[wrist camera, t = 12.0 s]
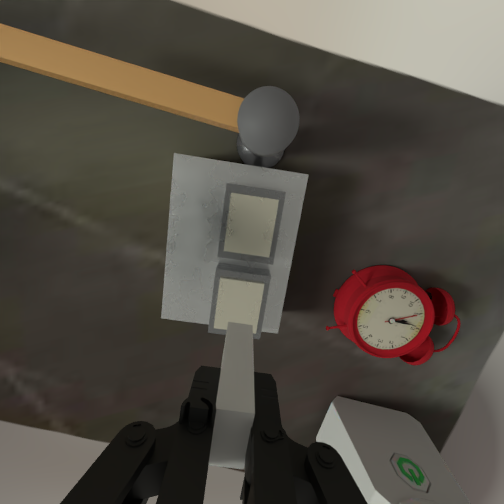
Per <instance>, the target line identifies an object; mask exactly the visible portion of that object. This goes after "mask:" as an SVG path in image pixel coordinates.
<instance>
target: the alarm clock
mask: <svg viewBox="0 0 504 504" xmlns="http://www.w3.org/2000/svg"><path fill="white" fill-rule="evenodd" d="M352 273H353V275H352V276H351V277H350V278H348V279H347V280H346V281H345V283H344V284H343V285H342V286H341V288H340V289H339V290H337V289H336V290H335V292H334V294H333V296H334V297H336V299H335V303H334V316H335V321H336V323H337V326H333V327H328V326H326V330H329V329H333V328H339V329H340V330H341V332H342V333H343V334H344V335H345V336H346V337H347V338H348V339H350V340H351V341H353V342H354V343H355V344H356V345H357V346H358V347H359V348H360V349H362V350H363V351H365V352H366V353H368V354H370V355H373V356H376V357H381V358H394V357H400V358H401V359H402V360H403V361H404V362H406V363H408V364H411V365H420V364H423V363H425V362H426V361H427V360H429V358H430V357H431V356H432V354H433V352H440V351H443V350H445V349H446V348H448V347H449V345H450V344H451V343H452V342H453V341H454V339H455V338H456V336H457V334H458V332H459V329H460V319H459V318H458V316H457V315H455V304H454V301H453V299H452V297H451V295H450V294H449V293H448V292H446V291H445V290H443V289H441V288H429V289H427V290H426V292H430V293H431V295H432V301H431V300H430V298H429V296H428V295H427V293H426V292H425V291H424V290H423V289H422V288H421V287H419V286H418V284H417V283H416V281H415V280H414V279H413V278H412V277H411V276H410V275H409V274H408V273H406V272H405V271H403V270H401V269H399V268H396V267H393V266H388V265H377V266H371V267H367V268H365V269H362V270H360V271H358V272H356V270H352ZM453 317H455V318H456V319H457V322H458V325H457V329H456V332H455V334H454V336H453V337H452V339H451V340H450V341H449V343H448V344H447V345H446V346H444V347H443V348H441V349H438V350H434V344H433V341H432V339H431V338H430V337H429V336H428V335H429V334H430V332H431V329H432V327H433V324H435V325H438V326H440V325H446V324H448V323H450V322H451V321H452V319H453Z"/></svg>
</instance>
